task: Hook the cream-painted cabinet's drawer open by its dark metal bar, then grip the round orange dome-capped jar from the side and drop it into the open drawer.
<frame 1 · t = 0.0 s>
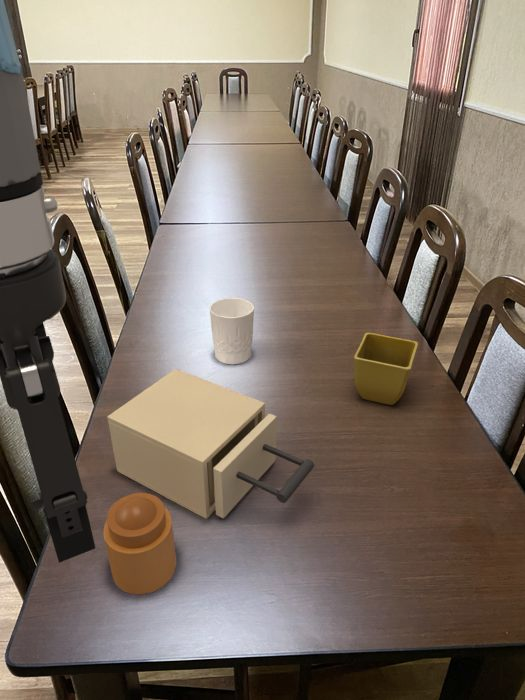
hand: (58, 493, 46), 19 cm above the table, tool pointing down, fingers open, 13 cm apart
flower pot: (380, 396, 90), on the table
cabinet: (192, 464, 76), on the table
white cup: (233, 356, 101), on the table
orange dome-capped jar: (144, 566, 61), on the table
drawer: (227, 455, 70), point 5 cm above the table, slide at 1.0 cm
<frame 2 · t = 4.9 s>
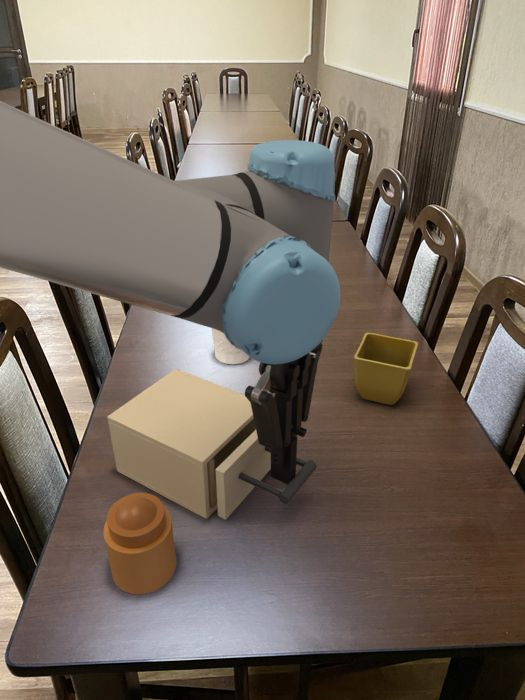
hand: (283, 477, 66), 5 cm above the table, tool pointing down, fingers closed
drawer: (229, 455, 70), point 5 cm above the table, slide at 1.3 cm, touching gripper
everything else where it was.
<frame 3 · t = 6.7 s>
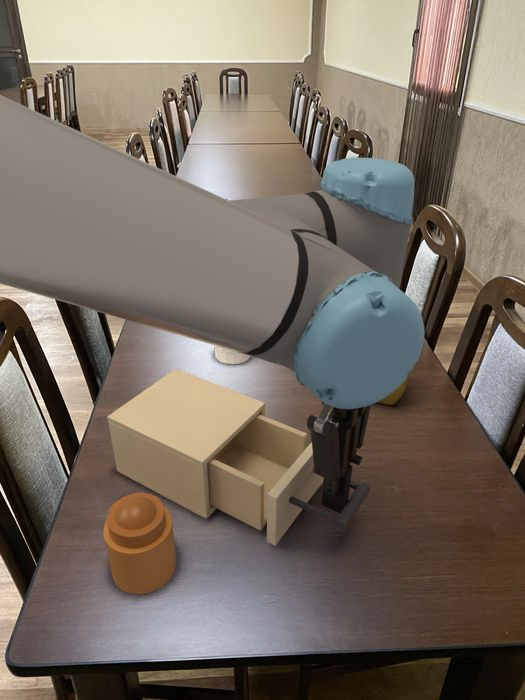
hand: (334, 505, 63), 4 cm above the table, tool pointing down, fingers closed
drawer: (276, 477, 67), point 5 cm above the table, slide at 8.5 cm
everything else where it was.
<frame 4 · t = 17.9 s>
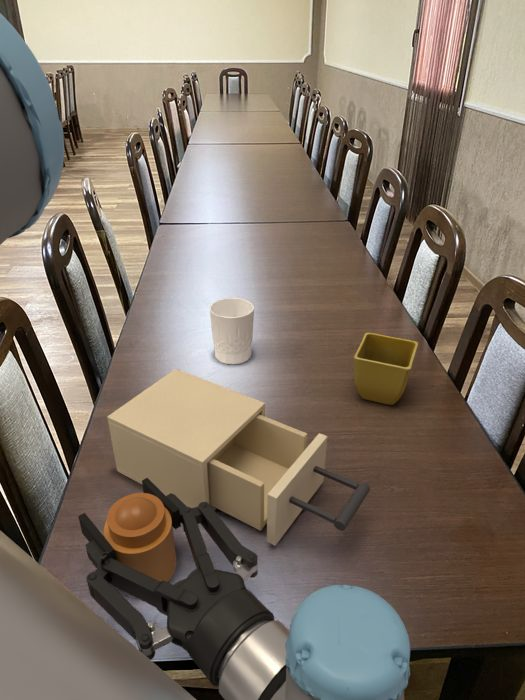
hand: (115, 504, 61), 6 cm above the table, tool horizontal, fingers closed on orange dome-capped jar, 7 cm apart
orange dome-capped jar: (144, 566, 61), on the table, touching gripper
everything else where it was.
when the fingers open (15 cm above the table, at t = 24.2 s): orange dome-capped jar drops 2 cm and tips over, resting on cabinet, drawer.
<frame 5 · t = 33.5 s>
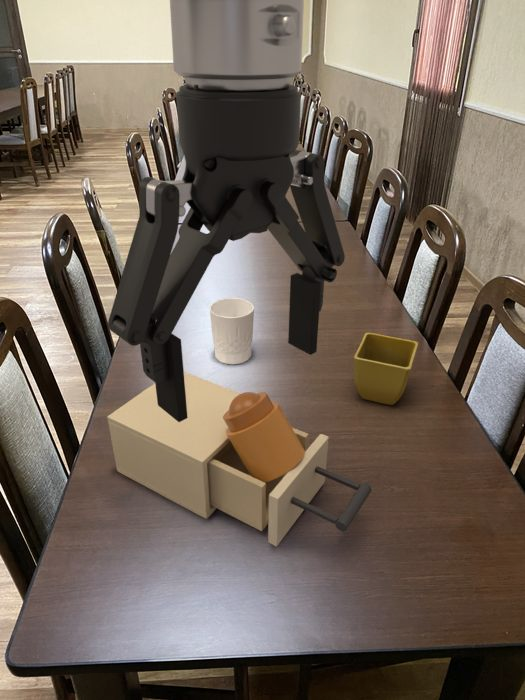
hand: (243, 377, 43), 29 cm above the table, tool pointing down, fingers open, 13 cm apart
orange dome-capped jar: (278, 464, 65), point 7 cm above the table, tilted 35°, touching cabinet, drawer
drawer: (278, 477, 67), point 5 cm above the table, slide at 8.6 cm, touching orange dome-capped jar
everything else where it was.
at the end: drawer slide at 8.6 cm; orange dome-capped jar inside the target area in the drawer (0.1 cm from its centre), point 7.0 cm above the cabinet's base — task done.
